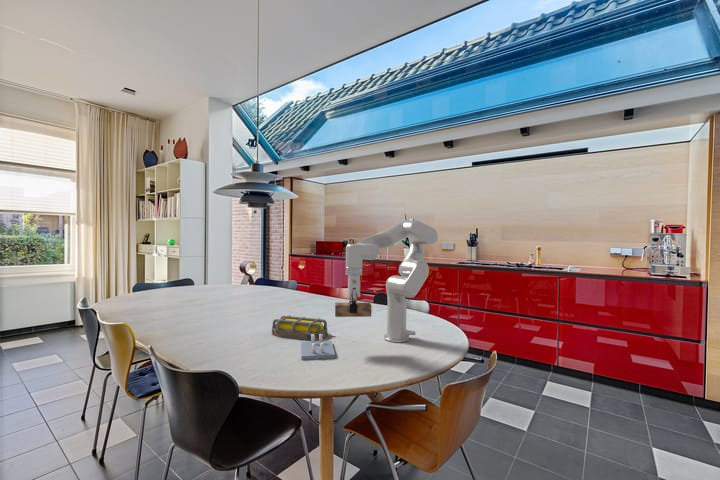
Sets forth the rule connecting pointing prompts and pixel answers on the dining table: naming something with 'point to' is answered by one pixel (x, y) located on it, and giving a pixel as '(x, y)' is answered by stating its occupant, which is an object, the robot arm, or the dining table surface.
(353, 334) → the dining table surface
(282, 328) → the cage light
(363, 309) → the brick
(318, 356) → the peg stand
